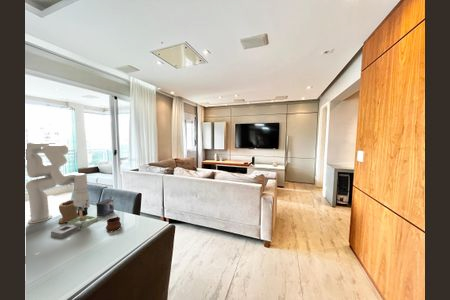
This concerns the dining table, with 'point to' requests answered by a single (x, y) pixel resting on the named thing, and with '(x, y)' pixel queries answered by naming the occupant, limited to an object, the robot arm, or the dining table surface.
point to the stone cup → (68, 211)
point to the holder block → (64, 231)
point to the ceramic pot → (113, 224)
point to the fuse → (82, 218)
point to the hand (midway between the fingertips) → (82, 214)
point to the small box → (105, 207)
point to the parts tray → (83, 223)
